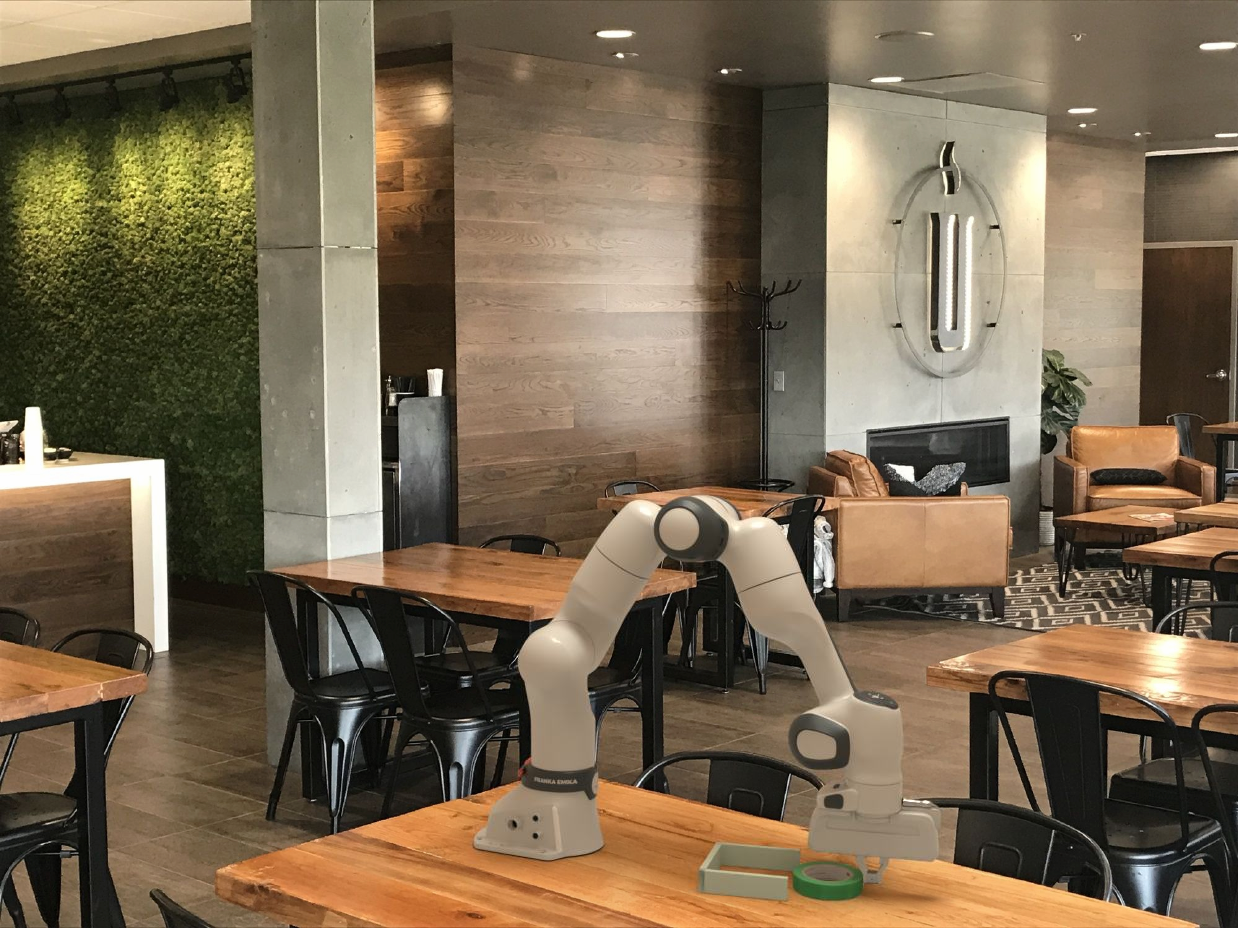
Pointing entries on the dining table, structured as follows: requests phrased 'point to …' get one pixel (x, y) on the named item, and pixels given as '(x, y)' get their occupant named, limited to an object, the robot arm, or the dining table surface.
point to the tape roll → (841, 888)
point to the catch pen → (747, 882)
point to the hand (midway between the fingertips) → (872, 882)
